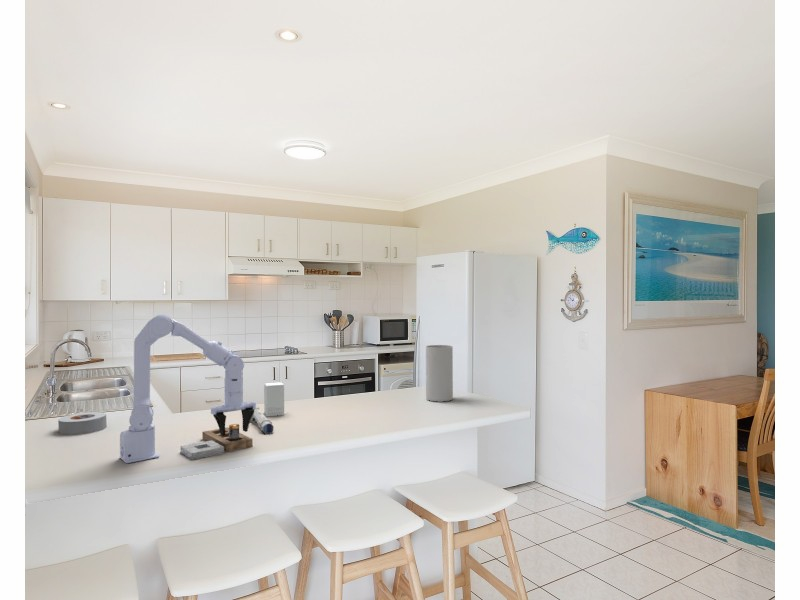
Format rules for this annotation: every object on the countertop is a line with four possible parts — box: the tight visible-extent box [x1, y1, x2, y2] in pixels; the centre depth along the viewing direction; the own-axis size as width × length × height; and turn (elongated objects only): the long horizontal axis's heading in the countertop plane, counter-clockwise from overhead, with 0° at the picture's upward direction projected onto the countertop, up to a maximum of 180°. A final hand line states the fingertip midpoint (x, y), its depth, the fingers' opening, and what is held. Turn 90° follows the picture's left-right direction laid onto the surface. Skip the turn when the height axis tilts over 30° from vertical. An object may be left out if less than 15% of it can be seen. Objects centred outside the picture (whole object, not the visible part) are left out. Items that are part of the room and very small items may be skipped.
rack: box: [202, 426, 254, 453], centre depth 178 cm, size 9×20×2 cm, turn 41°
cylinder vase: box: [425, 344, 454, 403], centre depth 248 cm, size 12×12×25 cm
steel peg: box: [228, 423, 240, 442], centre depth 174 cm, size 3×3×7 cm
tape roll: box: [57, 411, 108, 436], centre depth 197 cm, size 15×15×5 cm
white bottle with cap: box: [250, 404, 274, 434], centre depth 201 cm, size 5×7×25 cm
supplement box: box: [263, 381, 285, 417], centre depth 220 cm, size 7×7×13 cm
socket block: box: [180, 440, 225, 461], centre depth 167 cm, size 10×10×2 cm
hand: (234, 433), depth 174 cm, fingers open, 7 cm apart
